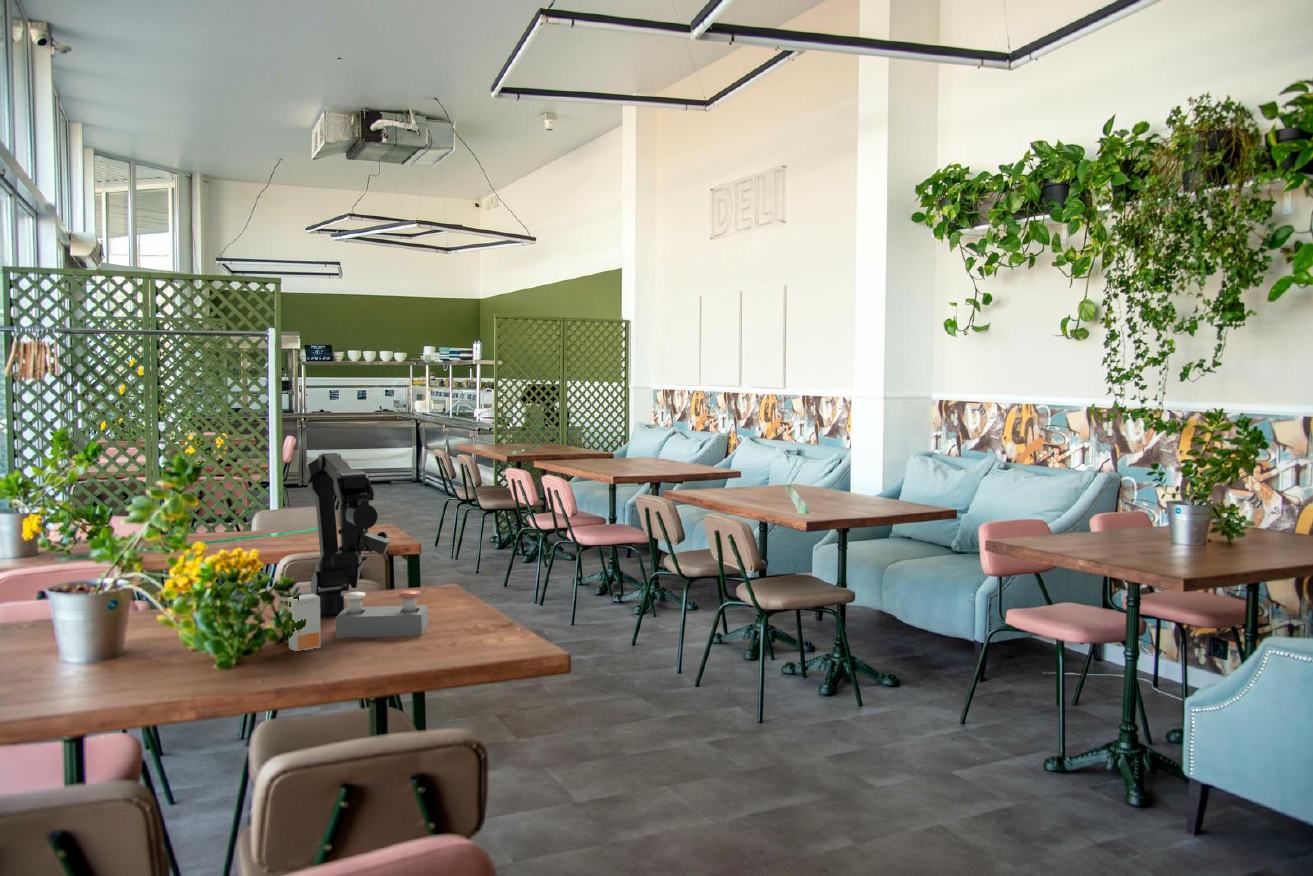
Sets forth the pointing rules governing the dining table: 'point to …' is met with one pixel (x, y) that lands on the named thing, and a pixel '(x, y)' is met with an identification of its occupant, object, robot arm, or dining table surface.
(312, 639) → the skincare box
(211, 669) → the dining table surface
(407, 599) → the red plunger
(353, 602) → the white plunger
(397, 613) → the block
